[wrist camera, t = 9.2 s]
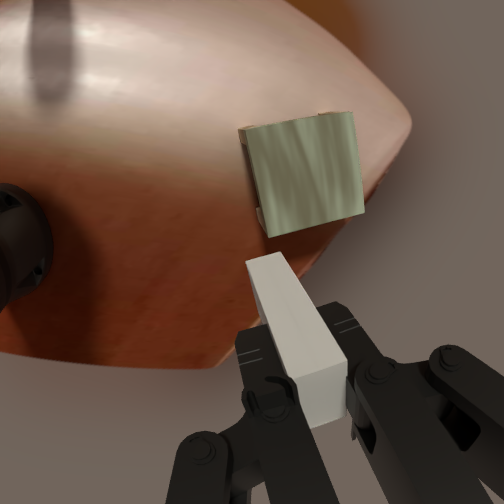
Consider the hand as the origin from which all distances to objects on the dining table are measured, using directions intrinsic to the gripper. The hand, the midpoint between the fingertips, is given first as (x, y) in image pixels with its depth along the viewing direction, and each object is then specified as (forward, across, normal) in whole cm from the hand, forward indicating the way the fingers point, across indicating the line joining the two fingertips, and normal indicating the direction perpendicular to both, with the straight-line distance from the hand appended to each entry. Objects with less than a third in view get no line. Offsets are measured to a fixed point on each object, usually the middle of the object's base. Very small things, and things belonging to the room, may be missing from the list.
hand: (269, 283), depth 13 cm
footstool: (+20, +3, 0) cm, 20 cm away
